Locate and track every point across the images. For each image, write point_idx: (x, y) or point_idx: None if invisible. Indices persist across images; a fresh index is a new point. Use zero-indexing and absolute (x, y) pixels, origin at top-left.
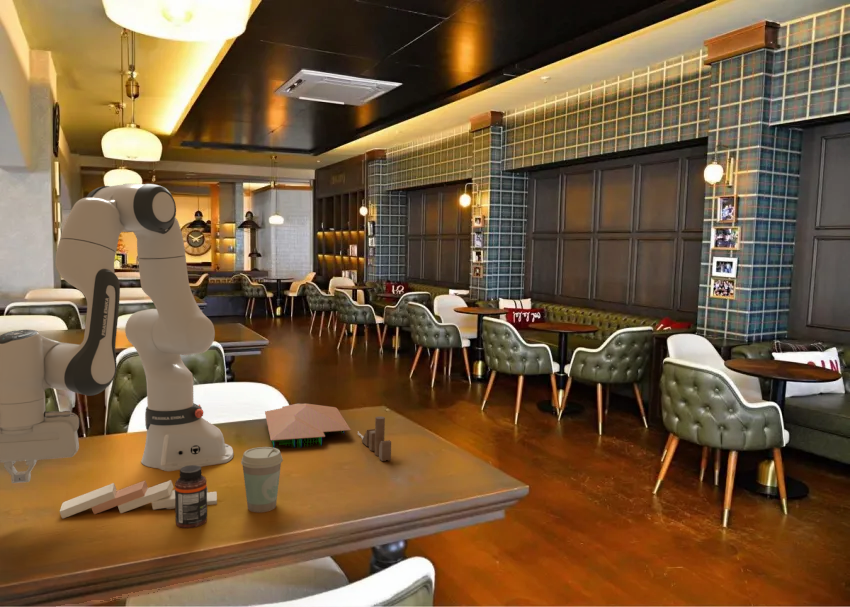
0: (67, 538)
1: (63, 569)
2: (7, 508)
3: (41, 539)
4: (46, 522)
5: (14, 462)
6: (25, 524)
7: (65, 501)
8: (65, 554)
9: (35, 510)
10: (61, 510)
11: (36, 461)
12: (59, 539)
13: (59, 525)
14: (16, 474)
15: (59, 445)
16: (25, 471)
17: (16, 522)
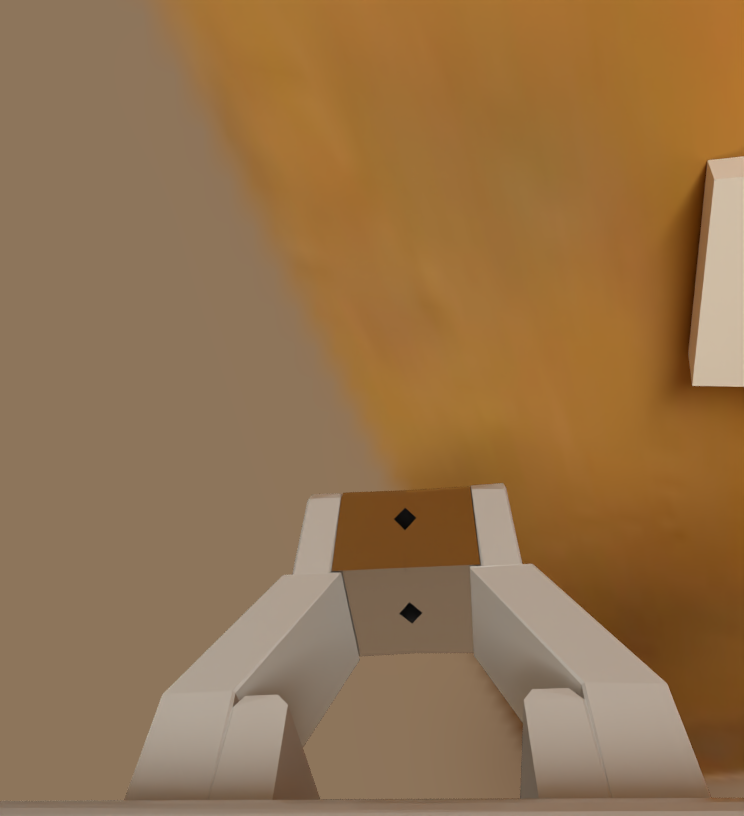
0: (722, 581)
1: (708, 759)
2: (177, 36)
3: (593, 569)
4: (585, 384)
5: (297, 766)
6: (456, 390)
7: (742, 176)
8: (714, 689)
9: (450, 138)
10: (709, 377)
11: (667, 704)
12: (682, 583)
13: (673, 439)
14: (374, 650)
15: None
16: (456, 580)
17: (385, 350)
